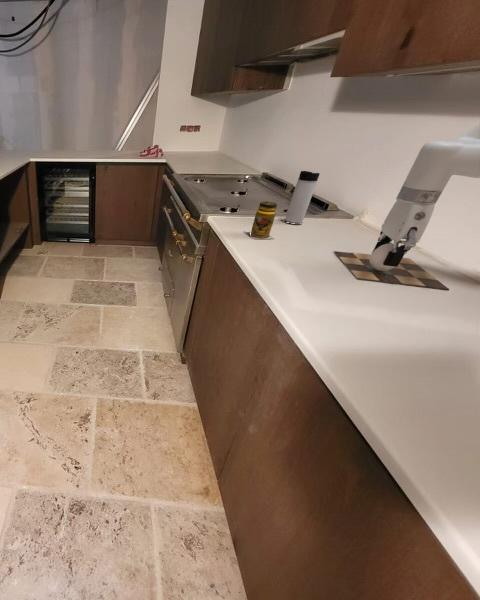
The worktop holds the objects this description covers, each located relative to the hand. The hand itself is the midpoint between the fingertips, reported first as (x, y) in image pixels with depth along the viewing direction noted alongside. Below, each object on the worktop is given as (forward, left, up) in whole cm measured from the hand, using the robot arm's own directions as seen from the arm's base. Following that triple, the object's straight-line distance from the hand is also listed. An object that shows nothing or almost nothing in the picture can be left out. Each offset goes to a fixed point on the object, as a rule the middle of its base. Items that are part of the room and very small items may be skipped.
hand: (384, 259), depth 90 cm
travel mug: (+14, -42, -4) cm, 45 cm away
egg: (0, 0, -3) cm, 3 cm away
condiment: (+29, -22, -4) cm, 37 cm away
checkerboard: (-2, -2, -4) cm, 5 cm away
